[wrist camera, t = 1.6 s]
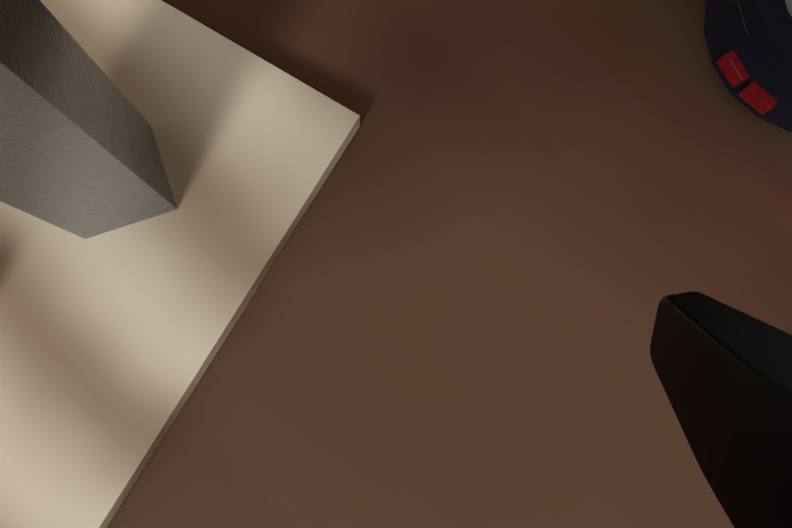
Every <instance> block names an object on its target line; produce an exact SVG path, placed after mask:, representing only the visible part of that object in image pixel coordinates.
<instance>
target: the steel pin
mask: <svg viewBox="0 0 792 528" xmlns="http://www.w3.org/2000/svg"><path fill="white" fill-rule="evenodd" d="M0 201H1V202H3V203H5V204H8V205H10V206H12V207H14V208H17V209H19V210H21V211H23V212H26V213H28V214H30V215H32V216H35V217H37V218H39V219H41V220H44V221H46V222H48V223H50V224H53V225H55V226H57V227H59V228H62V229H64V230H66V231H68V232H71V233H73V234H75V235H77V236H80V237H82V238H84V239H87V238H90V237H93V236H96V235H99V234H102V233H105V232H109V231H112V230H115V229H118V228H121V227H124V226H127V225H130V224H133V223H136V222H140V221H143V220H146V219H149V218H152V217H155V216H158V215H161V214H164V213H167V212H170V211H174V210H177V207H176V204H175V201H174V197H173V194H172V191H171V188H170V185H169V182H168V179H167V175H166V172H165V169H164V166H163V163H162V160H161V157H160V153H159V150H158V147H157V144H156V141H155V138H154V135H153V131H152V128H151V125H150V124H149V123H148V122H147V121H146V119H145V118H144V117H143V116H142V115H141V114H140V113H139V112H138V110H137V109H136V108H135V107H134V106H133V105H132V104H131V103H130V101H129V100H128V99H127V98H126V97H125V96H124V95H123V93H122V92H121V91H120V90H119V89H118V88H117V87H116V86H115V84H114V83H113V82H112V81H111V80H110V79H109V78H108V77H107V75H106V74H105V73H104V72H103V71H102V70H101V69H100V68H99V66H98V65H97V64H96V63H95V62H94V61H93V60H92V59H91V57H90V56H89V55H88V54H87V53H86V52H85V51H84V49H83V48H82V47H81V46H80V45H79V44H78V43H77V42H76V40H75V39H74V38H73V37H72V36H71V35H70V34H69V33H68V31H67V30H66V29H65V28H64V27H63V26H62V25H61V24H60V22H59V21H58V20H57V19H56V18H55V17H54V16H53V14H52V13H51V12H50V11H49V10H48V9H47V8H46V7H45V5H44V4H43V3H42V2H41V1H40V0H0Z"/></svg>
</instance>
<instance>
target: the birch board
mask: <svg viewBox="0 0 792 528" xmlns="http://www.w3.org/2000/svg"><path fill="white" fill-rule="evenodd" d="M40 1H41V2H42V3H43V4H44V5H45V7H46V8H47V9H48V10H49V11H50V12H51V13H52V14H53V16H54V17H55V18H56V19H57V20H58V21H59V22H60V24H61V25H62V26H63V27H64V28H65V29H66V30H67V31H68V33H69V34H70V35H71V36H72V37H73V38H74V39H75V40H76V42H77V43H78V44H79V45H80V46H81V47H82V48H83V49H84V51H85V52H86V53H87V54H88V55H89V56H90V57H91V59H92V60H93V61H94V62H95V63H96V64H97V65H98V66H99V68H100V69H101V70H102V71H103V72H104V73H105V74H106V75H107V77H108V78H109V79H110V80H111V81H112V82H113V83H114V84H115V86H116V87H117V88H118V89H119V90H120V91H121V92H122V93H123V95H124V96H125V97H126V98H127V99H128V100H129V101H130V103H131V104H132V105H133V106H134V107H135V108H136V109H137V110H138V112H139V113H140V114H141V115H142V116H143V117H144V118H145V119H146V121H147V122H148V123H149V124H150V125H151V128H152V131H153V135H154V138H155V141H156V144H157V147H158V150H159V153H160V157H161V160H162V163H163V166H164V169H165V172H166V175H167V179H168V182H169V185H170V188H171V191H172V194H173V197H174V201H175V204H176V207H177V210H174V211H170V212H167V213H164V214H161V215H158V216H155V217H152V218H149V219H146V220H143V221H140V222H136V223H133V224H130V225H127V226H124V227H121V228H118V229H115V230H112V231H109V232H105V233H102V234H99V235H96V236H93V237H90V238H87V239H84V238H82V237H80V236H77V235H75V234H73V233H71V232H68V231H66V230H64V229H62V228H59V227H57V226H55V225H53V224H50V223H48V222H46V221H44V220H41V219H39V218H37V217H35V216H32V215H30V214H28V213H26V212H23V211H21V210H19V209H17V208H14V207H12V206H10V205H8V204H5V203H3V202H1V201H0V528H107V527H108V525H109V523H110V522H111V520H112V519H113V517H114V516H115V514H116V512H117V511H118V509H119V508H120V506H121V504H122V503H123V501H124V500H125V498H126V497H127V495H128V493H129V492H130V490H131V489H132V487H133V485H134V484H135V482H136V481H137V479H138V477H139V476H140V474H141V473H142V471H143V470H144V468H145V466H146V465H147V463H148V462H149V460H150V458H151V457H152V455H153V454H154V452H155V451H156V449H157V447H158V446H159V444H160V443H161V441H162V439H163V438H164V436H165V435H166V433H167V431H168V430H169V428H170V427H171V425H172V424H173V422H174V420H175V419H176V417H177V416H178V414H179V412H180V411H181V409H182V408H183V406H184V405H185V403H186V401H187V400H188V398H189V397H190V395H191V393H192V392H193V390H194V389H195V387H196V386H197V384H198V382H199V381H200V379H201V378H202V376H203V374H204V373H205V371H206V370H207V368H208V366H209V365H210V363H211V362H212V360H213V359H214V357H215V355H216V354H217V352H218V351H219V349H220V347H221V346H222V344H223V343H224V341H225V340H226V338H227V336H228V335H229V333H230V332H231V330H232V328H233V327H234V325H235V324H236V322H237V320H238V319H239V317H240V316H241V314H242V313H243V311H244V309H245V308H246V306H247V305H248V303H249V301H250V300H251V298H252V297H253V295H254V294H255V292H256V290H257V289H258V287H259V286H260V284H261V282H262V281H263V279H264V278H265V276H266V274H267V273H268V271H269V270H270V268H271V267H272V265H273V263H274V262H275V260H276V259H277V257H278V255H279V254H280V252H281V251H282V249H283V248H284V246H285V244H286V243H287V241H288V240H289V238H290V236H291V235H292V233H293V232H294V230H295V228H296V227H297V225H298V224H299V222H300V221H301V219H302V217H303V216H304V214H305V213H306V211H307V209H308V208H309V206H310V205H311V203H312V202H313V200H314V198H315V197H316V195H317V194H318V192H319V190H320V189H321V187H322V186H323V184H324V183H325V181H326V179H327V178H328V176H329V175H330V173H331V171H332V170H333V168H334V167H335V165H336V163H337V162H338V160H339V159H340V157H341V156H342V154H343V152H344V151H345V149H346V148H347V146H348V144H349V143H350V141H351V140H352V138H353V137H354V135H355V133H356V132H357V130H358V129H359V127H360V116H359V115H358V114H356V113H354V112H353V111H351V110H349V109H347V108H346V107H344V106H342V105H341V104H339V103H337V102H335V101H334V100H332V99H330V98H329V97H327V96H325V95H323V94H322V93H320V92H318V91H317V90H315V89H313V88H311V87H310V86H308V85H306V84H304V83H303V82H301V81H299V80H298V79H296V78H294V77H292V76H291V75H289V74H287V73H286V72H284V71H282V70H280V69H279V68H277V67H275V66H274V65H272V64H270V63H268V62H267V61H265V60H263V59H261V58H260V57H258V56H256V55H255V54H253V53H251V52H249V51H248V50H246V49H244V48H243V47H241V46H239V45H237V44H236V43H234V42H232V41H231V40H229V39H227V38H225V37H224V36H222V35H220V34H219V33H217V32H215V31H213V30H212V29H210V28H208V27H206V26H205V25H203V24H201V23H200V22H198V21H196V20H194V19H193V18H191V17H189V16H188V15H186V14H184V13H182V12H181V11H179V10H177V9H176V8H174V7H172V6H170V5H169V4H167V3H165V2H163V1H162V0H40Z"/></svg>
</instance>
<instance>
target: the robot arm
mask: <svg viewBox="0 0 792 528" xmlns="http://www.w3.org/2000/svg"><path fill="white" fill-rule="evenodd" d="M650 354H651V359H652V363H653V365H654V368H655V370H656V372H657V374H658V377H659V379H660V381H661V383H662V385H663V388H664V390H665V392H666V394H667V396H668V399H669V401H670V403H671V405H672V407H673V410H674V412H675V414H676V416H677V418H678V421H679V423H680V425H681V427H682V430H683V432H684V434H685V436H686V438H687V441H688V443H689V445H690V447H691V449H692V452H693V454H694V456H695V458H696V460H697V462H698V464H699V466H700V468H701V470H702V472H703V474H704V476H705V478H706V480H707V481H708V483H709V485H710V487H711V488H712V490H713V492H714V494H715V495H716V497H717V499H718V501H719V502H720V504H721V506H722V507H723V509H724V511H725V512H726V514H727V516H728V517H729V519H730V521H731V523H732V524H733V526H734V528H792V335H791V334H788V333H786V332H784V331H782V330H780V329H778V328H775V327H773V326H771V325H769V324H767V323H765V322H762V321H760V320H758V319H756V318H754V317H752V316H750V315H747V314H745V313H743V312H741V311H739V310H737V309H734V308H732V307H730V306H728V305H726V304H724V303H722V302H719V301H717V300H715V299H713V298H711V297H709V296H706V295H704V294H702V293H699V292H685V293H679V294H673V295H668V296H665V297H663V298H662V299H661V301H660V302H659V305H658V309H657V314H656V319H655V324H654V329H653V334H652V339H651V344H650Z"/></svg>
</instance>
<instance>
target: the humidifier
mask: <svg viewBox="0 0 792 528" xmlns="http://www.w3.org/2000/svg"><path fill="white" fill-rule="evenodd" d="M704 34H705V38H706V41H707V45H708V49H709V52H710V56H711V60H712V63H713V65H714V67H715V69H716V70H717V72H718V73H719V75H720V76H721V78H722V80H723V81H724V83H725V84H726V86H727V88H728V89H729V91H730V92H731V94H733V95H734V96H735V97H736V98H737V99H738V100H739V101H740V102H742V103H743V104H744V105H745V106H746V107H747V108H748V109H750V110H751V111H752V112H753V113H754V114H755V115H756V116H758V117H760V118H762V119H764V120H766V121H768V122H770V123H772V124H775V125H777V126H779V127H781V128H783V129H785V130H787V131H790V132H792V0H706V8H705V25H704Z"/></svg>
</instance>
